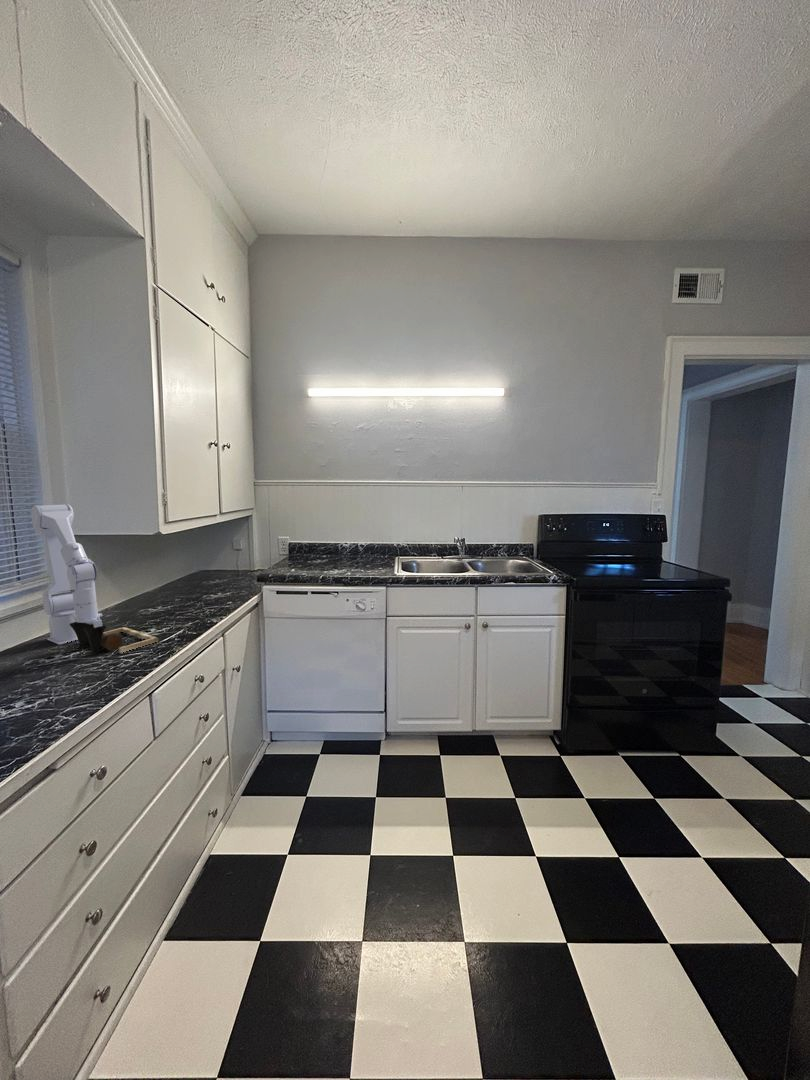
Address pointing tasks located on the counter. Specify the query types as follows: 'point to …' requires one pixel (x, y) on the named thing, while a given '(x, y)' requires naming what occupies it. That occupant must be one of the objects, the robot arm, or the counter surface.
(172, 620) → the counter surface
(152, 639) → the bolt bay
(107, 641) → the bolt
